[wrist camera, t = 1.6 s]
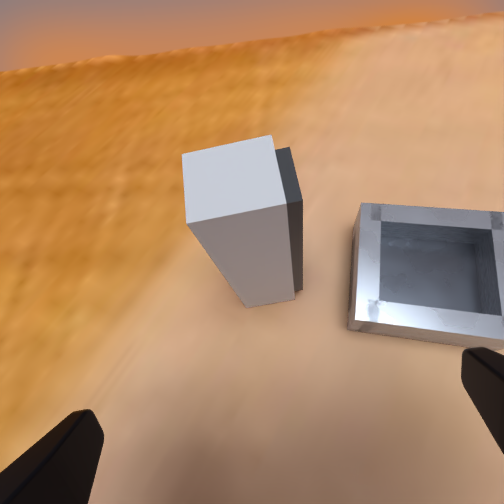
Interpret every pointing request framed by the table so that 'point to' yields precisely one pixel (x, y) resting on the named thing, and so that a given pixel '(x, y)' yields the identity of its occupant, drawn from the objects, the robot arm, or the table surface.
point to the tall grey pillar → (248, 217)
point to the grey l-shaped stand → (428, 274)
